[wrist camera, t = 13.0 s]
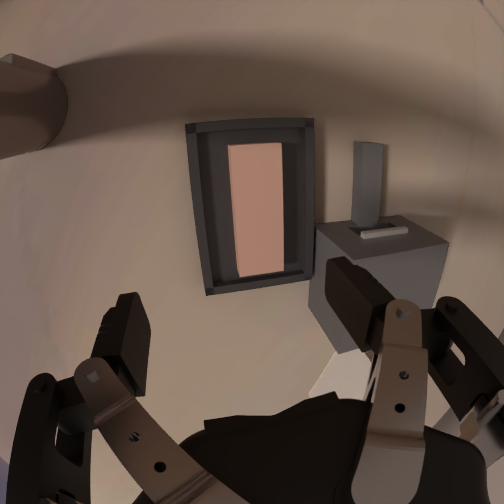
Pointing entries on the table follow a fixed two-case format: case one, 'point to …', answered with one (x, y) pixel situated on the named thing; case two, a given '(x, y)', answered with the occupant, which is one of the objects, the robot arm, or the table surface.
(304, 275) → the tray
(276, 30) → the table surface
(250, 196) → the pink block
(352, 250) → the dispenser
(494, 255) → the table surface
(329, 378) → the white angular block
